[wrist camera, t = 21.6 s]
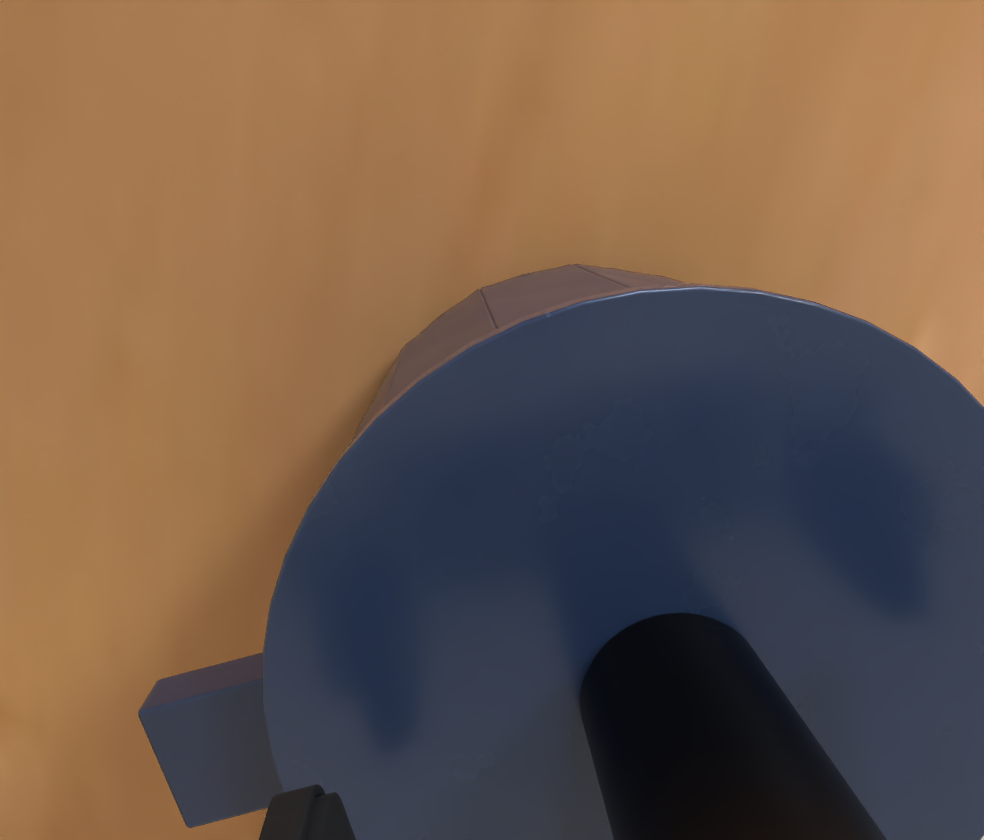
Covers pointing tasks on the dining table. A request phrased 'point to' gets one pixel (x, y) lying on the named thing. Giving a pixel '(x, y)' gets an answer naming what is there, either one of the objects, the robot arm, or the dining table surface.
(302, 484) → the dining table surface
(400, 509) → the pot lid
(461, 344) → the pot
